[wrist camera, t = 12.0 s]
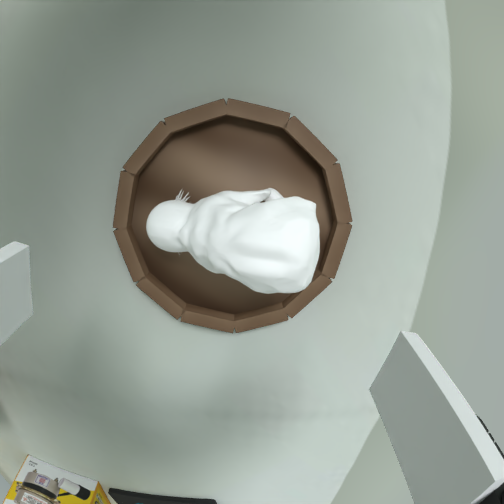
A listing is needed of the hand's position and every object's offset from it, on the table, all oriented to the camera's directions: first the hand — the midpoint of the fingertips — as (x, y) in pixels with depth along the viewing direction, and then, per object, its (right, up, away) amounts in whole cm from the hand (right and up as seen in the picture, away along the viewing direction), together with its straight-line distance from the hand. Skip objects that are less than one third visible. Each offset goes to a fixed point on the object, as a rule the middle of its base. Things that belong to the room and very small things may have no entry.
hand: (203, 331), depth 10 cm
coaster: (0, +5, +16) cm, 17 cm away
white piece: (0, +5, +16) cm, 16 cm away
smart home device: (-14, -43, +33) cm, 56 cm away
